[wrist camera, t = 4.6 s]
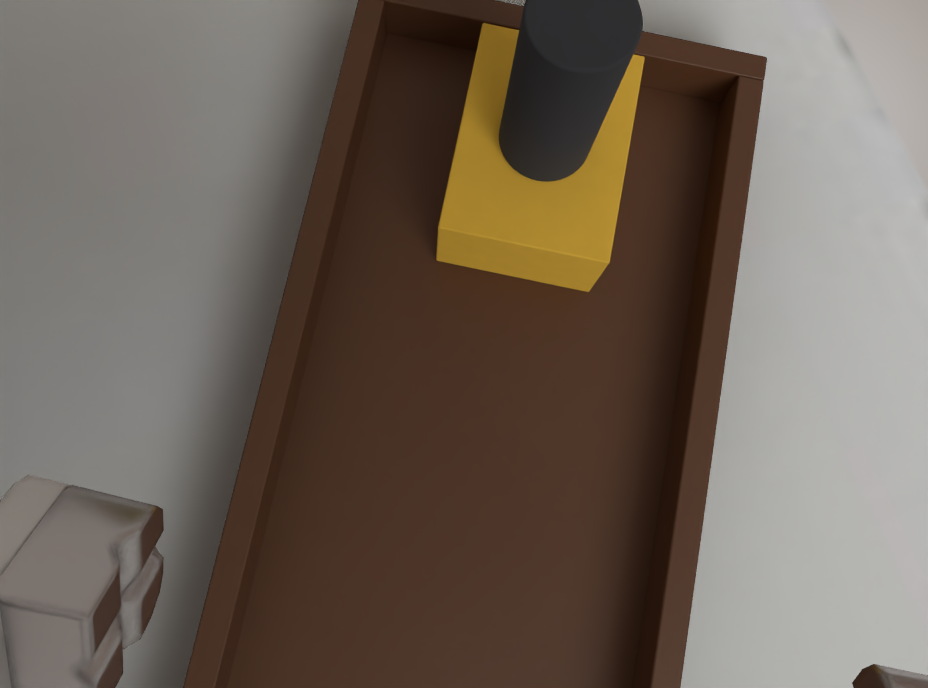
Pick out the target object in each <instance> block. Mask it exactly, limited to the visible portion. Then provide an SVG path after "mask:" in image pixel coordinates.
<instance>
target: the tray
mask: <svg viewBox="0 0 928 688" xmlns="http://www.w3.org/2000/svg"><path fill="white" fill-rule="evenodd" d="M523 9H524V6H520V5H515V4H510V3H505V2H501V1H496V0H358V4H357V8H356V11H355V15H354V19H353V23H352V27H351V31H350V35H349V39H348V43H347V47H346V51H345V55H344V59H343V62H342V66H341V70H340V74H339V78H338V82H337V86H336V90H335V94H334V98H333V102H332V106H331V110H330V113H329V117H328V121H327V125H326V129H325V133H324V137H323V141H322V145H321V149H320V153H319V157H318V161H317V164H316V168H315V172H314V176H313V180H312V184H311V188H310V192H309V196H308V200H307V204H306V208H305V212H304V215H303V219H302V223H301V227H300V231H299V235H298V239H297V243H296V247H295V251H294V255H293V259H292V263H291V266H290V270H289V274H288V278H287V282H286V286H285V290H284V294H283V298H282V302H281V306H280V310H279V313H278V317H277V321H276V325H275V329H274V333H273V337H272V341H271V345H270V349H269V353H268V357H267V361H266V364H265V368H264V372H263V376H262V380H261V384H260V388H259V392H258V396H257V400H256V404H255V408H254V412H253V415H252V419H251V423H250V427H249V431H248V435H247V439H246V443H245V447H244V451H243V455H242V459H241V463H240V466H239V470H238V474H237V478H236V482H235V486H234V490H233V494H232V498H231V502H230V506H229V510H228V514H227V517H226V521H225V525H224V529H223V533H222V537H221V541H220V545H219V549H218V553H217V557H216V561H215V565H214V568H213V572H212V576H211V580H210V584H209V588H208V592H207V596H206V600H205V604H204V608H203V612H202V615H201V619H200V623H199V627H198V631H197V635H196V639H195V643H194V647H193V651H192V655H191V659H190V663H189V666H188V670H187V674H186V678H185V682H184V686H183V688H680V686H681V678H682V671H683V664H684V657H685V649H686V642H687V635H688V628H689V620H690V613H691V606H692V598H693V591H694V584H695V577H696V569H697V562H698V555H699V548H700V540H701V533H702V526H703V519H704V511H705V504H706V497H707V489H708V482H709V475H710V468H711V460H712V453H713V446H714V439H715V431H716V424H717V417H718V410H719V402H720V395H721V388H722V380H723V373H724V366H725V359H726V351H727V344H728V337H729V330H730V322H731V315H732V308H733V300H734V293H735V286H736V279H737V271H738V264H739V257H740V250H741V242H742V235H743V228H744V221H745V213H746V206H747V199H748V191H749V184H750V177H751V170H752V162H753V155H754V148H755V141H756V133H757V126H758V119H759V112H760V104H761V97H762V90H763V80H764V76H765V69H766V62H767V58H766V57H763V56H758V55H753V54H749V53H744V52H739V51H734V50H729V49H725V48H720V47H715V46H710V45H706V44H701V43H696V42H691V41H687V40H682V39H677V38H672V37H667V36H663V35H658V34H653V33H648V32H644V31H642V34H641V38H640V40H639V43H638V45H637V47H636V50H635V52H634V55H639V56H644V58H645V59H644V65H643V71H642V77H641V83H640V88H639V94H638V100H637V106H636V112H635V118H634V123H633V129H632V135H631V141H630V147H629V153H628V158H627V164H626V170H625V176H624V182H623V188H622V193H621V199H620V205H619V211H618V217H617V223H616V228H615V234H614V240H613V246H612V252H611V258H610V263H609V264H608V265H607V267H606V268H605V270H604V271H603V273H602V274H601V275H600V277H599V278H598V280H597V281H596V282H595V284H594V285H593V287H592V288H591V290H590V291H589V292H586V291H581V290H576V289H571V288H566V287H561V286H557V285H552V284H547V283H542V282H537V281H533V280H528V279H523V278H518V277H513V276H508V275H504V274H499V273H494V272H489V271H484V270H480V269H475V268H470V267H465V266H460V265H455V264H451V263H446V262H441V261H437V260H436V252H437V236H438V225H439V220H440V216H441V211H442V207H443V202H444V197H445V193H446V188H447V184H448V179H449V175H450V170H451V165H452V161H453V156H454V152H455V147H456V143H457V138H458V133H459V129H460V124H461V120H462V115H463V110H464V106H465V101H466V97H467V92H468V88H469V83H470V78H471V74H472V69H473V65H474V60H475V56H476V51H477V46H478V42H479V37H480V33H481V28H482V24H483V23H486V24H491V25H496V26H501V27H505V28H510V29H515V30H519V29H520V24H521V19H522V14H523Z"/></svg>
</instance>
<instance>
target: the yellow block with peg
mask: <svg viewBox="0 0 928 688" xmlns="http://www.w3.org/2000/svg"><path fill="white" fill-rule="evenodd" d="M642 27H643V20H642V13H641V9H640V6H639V3H638V1H637V0H526V1H525V5H524V9H523V14H522V19H521V24H520V29H519V30H515V29H510V28H505V27H501V26H496V25H491V24H486V23H483V24H482V28H481V33H480V37H479V42H478V46H477V51H476V56H475V60H474V65H473V69H472V74H471V78H470V83H469V88H468V92H467V97H466V101H465V106H464V110H463V115H462V120H461V124H460V129H459V133H458V138H457V143H456V147H455V152H454V156H453V161H452V165H451V170H450V175H449V179H448V184H447V188H446V193H445V197H444V202H443V207H442V211H441V216H440V220H439V225H438V236H437V252H436V260H437V261H441V262H446V263H451V264H455V265H460V266H465V267H470V268H475V269H480V270H484V271H489V272H494V273H499V274H504V275H508V276H513V277H518V278H523V279H528V280H533V281H537V282H542V283H547V284H552V285H557V286H561V287H566V288H571V289H576V290H581V291H586V292H589V291H590V290H591V288H592V287H593V285H594V284H595V282H596V281H597V280H598V278H599V277H600V275H601V274H602V273H603V271H604V270H605V268H606V267H607V265H608V264H609V263H610V258H611V252H612V246H613V240H614V234H615V228H616V223H617V217H618V211H619V205H620V199H621V193H622V188H623V182H624V176H625V170H626V164H627V158H628V153H629V147H630V141H631V135H632V129H633V123H634V118H635V112H636V106H637V100H638V94H639V88H640V83H641V77H642V71H643V65H644V59H645V58H644V56H639V55H634V52H635V50H636V47H637V45H638V43H639V40H640V38H641V34H642Z"/></svg>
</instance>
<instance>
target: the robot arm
mask: <svg viewBox="0 0 928 688" xmlns="http://www.w3.org/2000/svg"><path fill="white" fill-rule="evenodd" d="M163 530H164V529H163V509H161V508H160V507H158V506H155V505H151V504H147V503H143V502H139V501H135V500H131V499H127V498H123V497H118V496H114V495H110V494H106V493H102V492H98V491H94V490H90V489H86V488H82V487H78V486H74V485H68V484H64V483H60V482H56V481H51V480H47V479H43V478H39V477H35V476H31V475H27V476H26V477H24V478H22V479H21V480H19V481H18V482H16V483H14V484H13V485H12V487H11V488H10V489H9V490H8V492H7V493H6V494H5V495H4V497H3V498H2V499H1V500H0V688H115V687H116V685H117V684H118V682H119V680H120V678H121V676H122V674H123V651H122V650H123V649H125V648H127V647H128V646H130V645H131V644H133V643H135V642H136V641H138V640H140V639H141V637H142V635H143V633H144V631H145V629H146V627H147V625H148V623H149V621H150V619H151V616H152V613H153V610H154V607H155V604H156V601H157V598H158V596H159V593H160V588H161V582H162V576H163V556H162V555H161V554H160V553H159V551H158V550H157V549H156V548H155V545H156V543H157V541H158V539H159V538H160V536H161V534H162V532H163ZM852 684H853V687H854V688H928V675H923V674H918V673H914V672H909V671H904V670H899V669H895V668H890V667H885V666H880V665H875V664H873V665H871V666H869V667H866V668H864V669H862V671H861V672H860V673H859V675H858V676H857V677H856V679H855V680H854V681H853V683H852Z"/></svg>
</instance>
